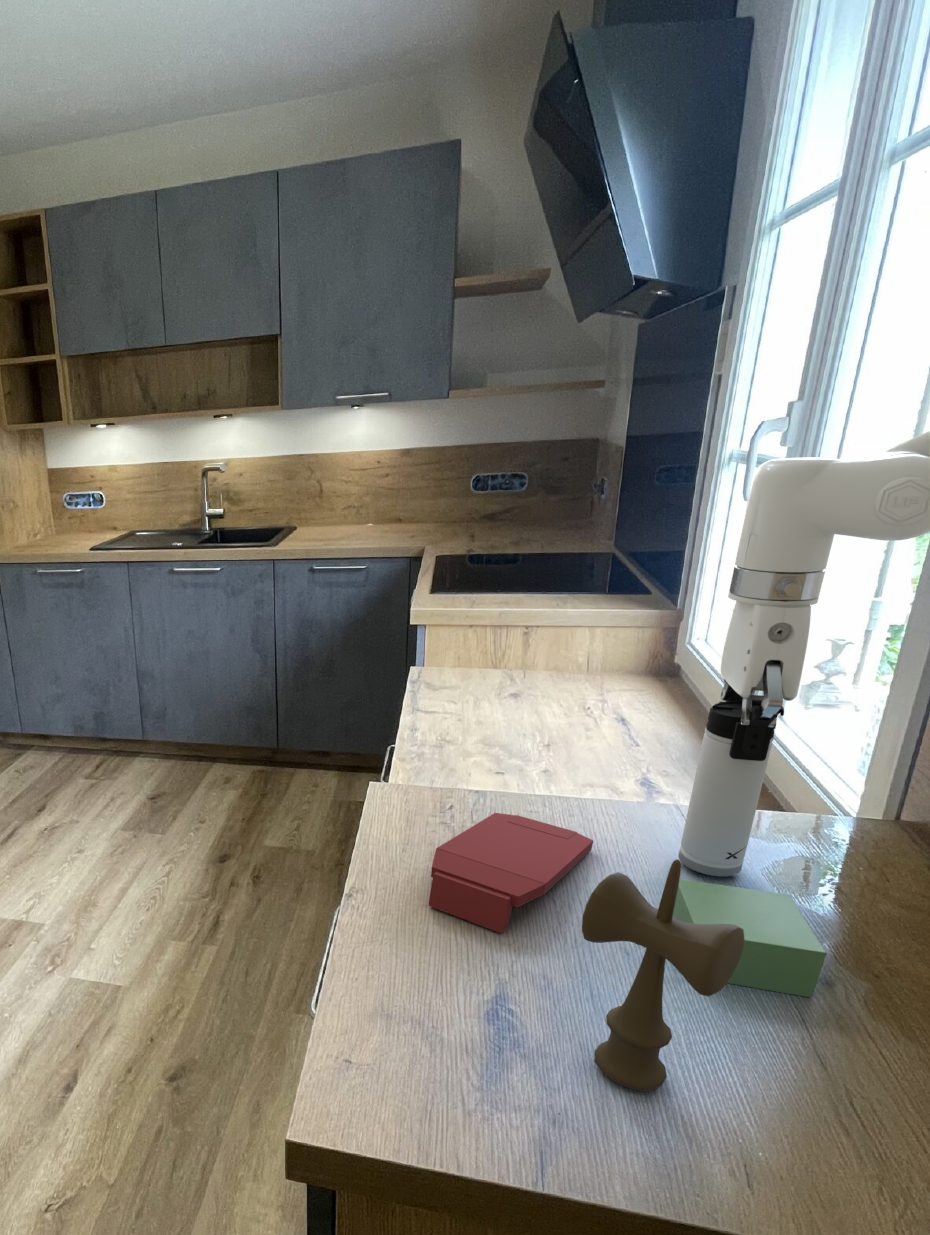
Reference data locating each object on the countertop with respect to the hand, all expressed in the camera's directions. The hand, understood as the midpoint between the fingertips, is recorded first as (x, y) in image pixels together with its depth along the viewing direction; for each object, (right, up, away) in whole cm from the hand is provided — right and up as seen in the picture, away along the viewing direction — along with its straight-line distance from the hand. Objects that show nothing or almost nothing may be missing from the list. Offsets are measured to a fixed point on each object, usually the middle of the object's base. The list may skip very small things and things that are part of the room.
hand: (737, 745), depth 87 cm
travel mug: (+1, -14, +6) cm, 15 cm away
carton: (-23, -15, +6) cm, 28 cm away
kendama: (-25, -27, -22) cm, 43 cm away
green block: (-7, -21, -9) cm, 24 cm away
